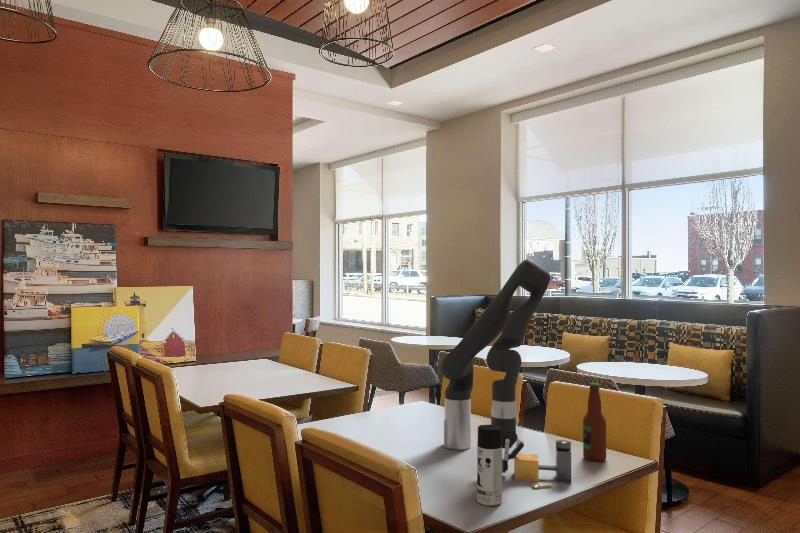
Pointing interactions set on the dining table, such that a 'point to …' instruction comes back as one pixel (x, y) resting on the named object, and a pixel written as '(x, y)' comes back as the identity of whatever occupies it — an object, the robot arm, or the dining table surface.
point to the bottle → (594, 428)
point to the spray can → (489, 465)
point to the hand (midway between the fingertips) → (503, 471)
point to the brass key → (541, 486)
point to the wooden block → (526, 467)
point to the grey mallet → (561, 462)
